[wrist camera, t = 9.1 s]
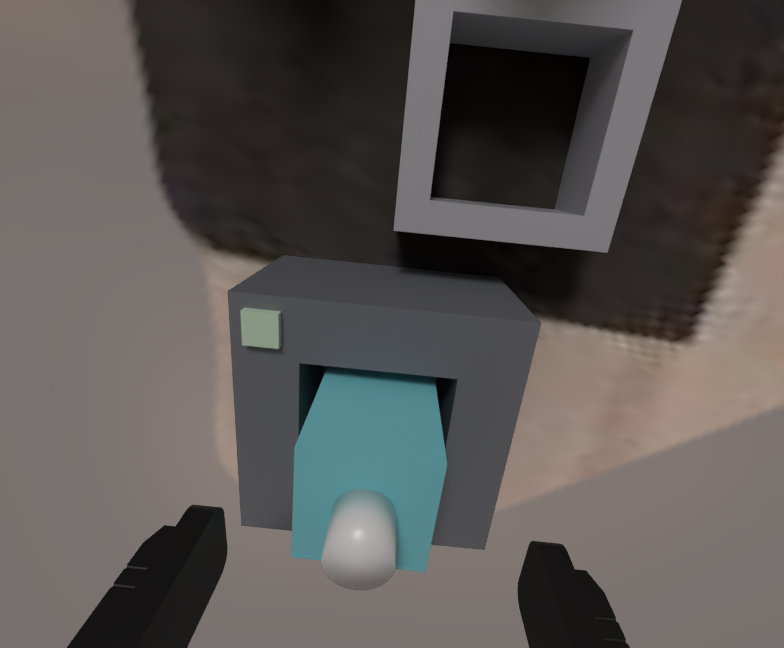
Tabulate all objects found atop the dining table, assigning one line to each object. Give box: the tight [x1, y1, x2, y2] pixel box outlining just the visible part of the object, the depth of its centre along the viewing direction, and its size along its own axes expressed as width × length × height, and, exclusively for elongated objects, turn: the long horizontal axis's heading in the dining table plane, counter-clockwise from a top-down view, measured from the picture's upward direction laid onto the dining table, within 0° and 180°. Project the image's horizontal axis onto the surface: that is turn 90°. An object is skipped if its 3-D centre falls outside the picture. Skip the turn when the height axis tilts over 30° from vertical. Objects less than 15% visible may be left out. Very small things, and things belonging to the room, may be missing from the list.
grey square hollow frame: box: [394, 0, 682, 252], centre depth 14 cm, size 8×8×3 cm
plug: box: [291, 366, 447, 590], centre depth 14 cm, size 4×4×10 cm
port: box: [228, 255, 541, 550], centre depth 17 cm, size 10×10×6 cm
